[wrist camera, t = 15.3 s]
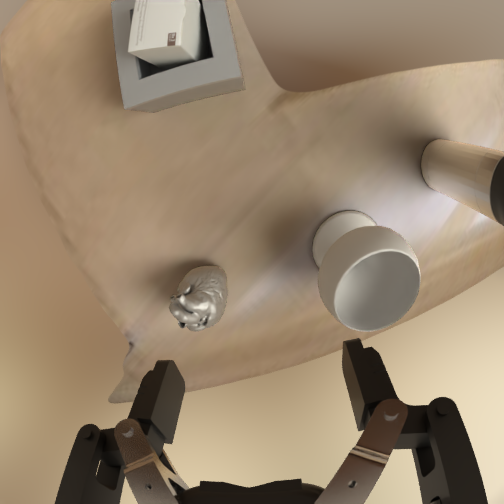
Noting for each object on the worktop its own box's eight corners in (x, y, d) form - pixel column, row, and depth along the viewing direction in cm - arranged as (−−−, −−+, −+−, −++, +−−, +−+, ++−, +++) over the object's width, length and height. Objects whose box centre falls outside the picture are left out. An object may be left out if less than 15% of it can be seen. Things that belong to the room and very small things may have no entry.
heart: (212, 318, 50) (210, 358, 39) (169, 291, 48) (155, 326, 37) (245, 277, 49) (251, 310, 37) (200, 247, 46) (192, 272, 35)
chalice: (388, 268, 46) (427, 317, 32) (316, 291, 48) (334, 351, 34) (378, 194, 40) (426, 225, 27) (296, 218, 42) (313, 262, 29)
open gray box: (225, -3, 28) (216, -34, 19) (245, 89, 35) (240, 76, 25) (139, 22, 29) (111, 2, 20) (153, 112, 36) (124, 109, 27)
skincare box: (173, 27, 29) (134, -12, 16) (213, 24, 29) (190, -22, 16) (168, 76, 33) (122, 52, 19) (208, 73, 33) (180, 44, 19)
